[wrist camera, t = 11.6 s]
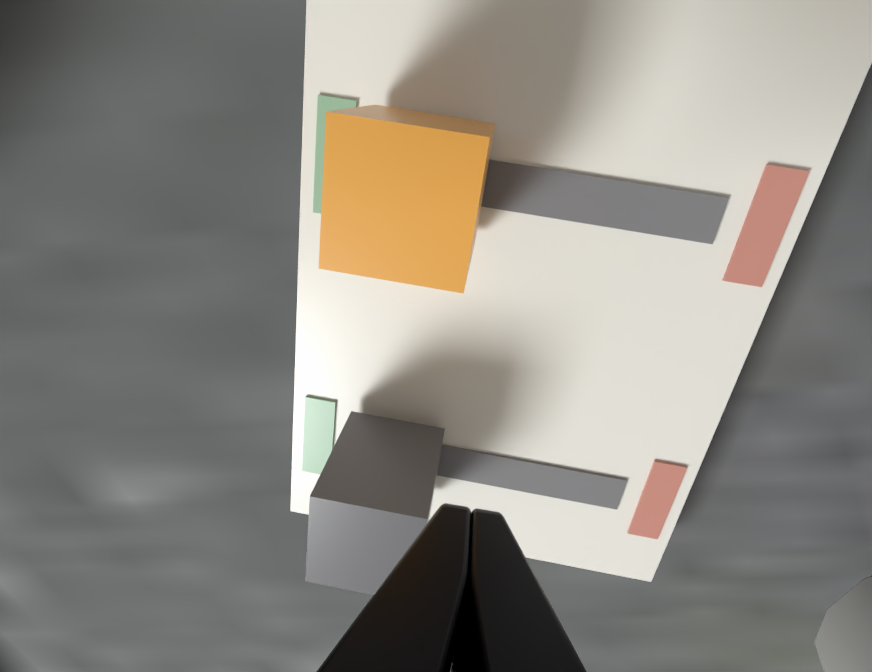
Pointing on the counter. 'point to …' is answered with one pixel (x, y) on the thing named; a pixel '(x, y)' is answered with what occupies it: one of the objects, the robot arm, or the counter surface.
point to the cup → (848, 632)
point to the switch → (371, 500)
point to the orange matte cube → (402, 194)
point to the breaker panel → (574, 245)
